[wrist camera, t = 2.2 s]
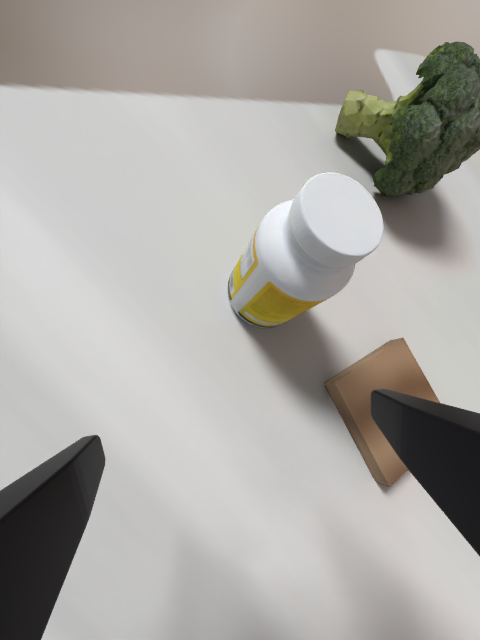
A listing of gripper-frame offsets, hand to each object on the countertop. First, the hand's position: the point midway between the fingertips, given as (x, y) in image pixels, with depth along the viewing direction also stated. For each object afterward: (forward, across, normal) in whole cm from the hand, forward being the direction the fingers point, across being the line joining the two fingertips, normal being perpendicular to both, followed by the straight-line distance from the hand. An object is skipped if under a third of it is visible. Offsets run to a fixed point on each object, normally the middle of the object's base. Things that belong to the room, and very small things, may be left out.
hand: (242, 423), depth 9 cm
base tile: (+13, -14, +9) cm, 21 cm away
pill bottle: (+16, -4, -2) cm, 16 cm away
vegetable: (+26, -21, -15) cm, 36 cm away
